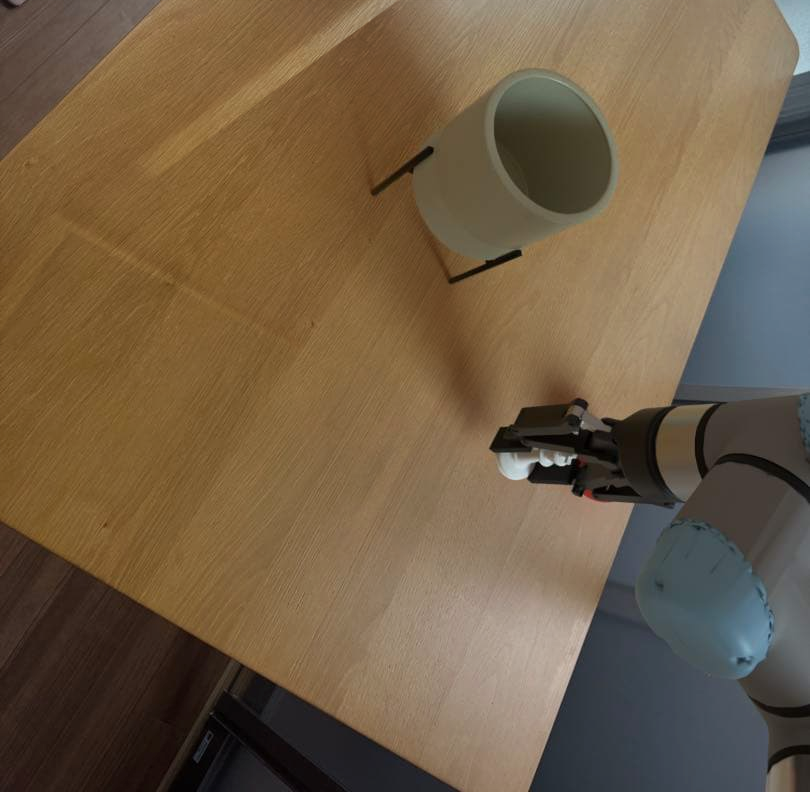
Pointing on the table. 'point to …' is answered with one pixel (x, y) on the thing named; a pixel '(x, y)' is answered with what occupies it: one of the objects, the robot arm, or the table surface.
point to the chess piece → (529, 461)
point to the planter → (514, 168)
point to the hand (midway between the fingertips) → (516, 455)
